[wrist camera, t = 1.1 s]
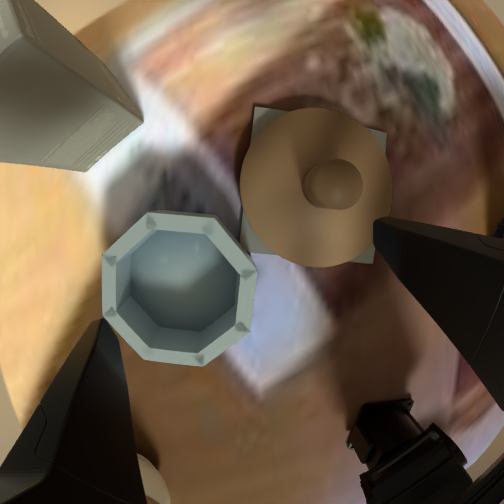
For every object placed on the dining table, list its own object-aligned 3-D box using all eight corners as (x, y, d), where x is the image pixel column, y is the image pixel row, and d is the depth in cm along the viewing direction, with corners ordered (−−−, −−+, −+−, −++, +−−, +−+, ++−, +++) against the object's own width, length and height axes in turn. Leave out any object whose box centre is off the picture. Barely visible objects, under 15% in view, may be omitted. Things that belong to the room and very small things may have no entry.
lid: (391, 129, 23) (421, 118, 18) (376, 270, 25) (404, 283, 20) (249, 99, 21) (255, 78, 17) (231, 257, 23) (233, 270, 19)
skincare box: (147, 123, 21) (43, 23, 6) (78, 181, 22) (-75, 171, 6) (99, 55, 20) (5, -51, 4) (38, 109, 20) (-90, 57, 5)
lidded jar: (68, 437, 25) (39, 493, 16) (146, 427, 26) (127, 497, 17) (117, 493, 27) (103, 547, 18) (192, 487, 28) (188, 549, 19)
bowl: (255, 218, 23) (263, 222, 19) (241, 342, 25) (245, 369, 21) (125, 206, 22) (104, 208, 18) (122, 329, 24) (105, 353, 19)
